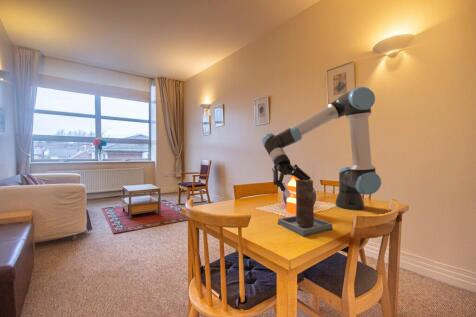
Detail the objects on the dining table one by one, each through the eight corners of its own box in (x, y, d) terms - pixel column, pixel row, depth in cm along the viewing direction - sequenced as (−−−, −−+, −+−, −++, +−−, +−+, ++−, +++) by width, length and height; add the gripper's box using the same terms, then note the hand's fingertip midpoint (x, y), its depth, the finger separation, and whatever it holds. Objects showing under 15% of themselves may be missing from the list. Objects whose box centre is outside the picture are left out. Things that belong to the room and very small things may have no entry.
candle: (292, 224, 98) (292, 179, 98) (301, 221, 103) (302, 177, 102) (307, 229, 93) (307, 181, 92) (317, 225, 97) (317, 179, 96)
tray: (305, 219, 109) (305, 213, 108) (332, 229, 94) (332, 224, 94) (278, 224, 101) (278, 218, 101) (303, 236, 87) (303, 230, 87)
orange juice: (308, 212, 119) (309, 175, 118) (298, 216, 113) (298, 176, 112) (296, 209, 125) (296, 173, 124) (286, 212, 120) (286, 175, 119)
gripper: (295, 163, 119) (317, 196, 107) (255, 165, 108) (274, 202, 95) (303, 153, 114) (326, 187, 102) (261, 154, 103) (282, 192, 90)
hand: (301, 195), depth 98 cm, fingers open, 13 cm apart
